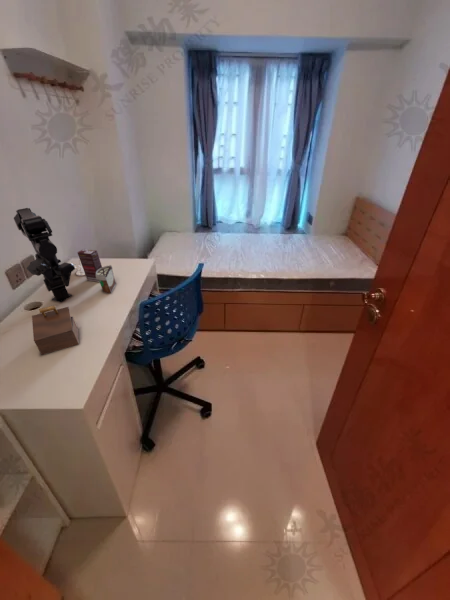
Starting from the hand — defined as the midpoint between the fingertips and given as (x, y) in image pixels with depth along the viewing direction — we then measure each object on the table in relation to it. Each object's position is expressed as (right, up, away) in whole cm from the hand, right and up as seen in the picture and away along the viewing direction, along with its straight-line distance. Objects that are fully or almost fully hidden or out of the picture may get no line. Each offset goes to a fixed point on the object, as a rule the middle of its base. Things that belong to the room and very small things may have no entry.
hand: (59, 284), depth 118 cm
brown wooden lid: (+6, -15, -15) cm, 22 cm away
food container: (+11, -1, +21) cm, 24 cm away
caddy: (+7, -22, -11) cm, 26 cm away
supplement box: (+2, +4, +31) cm, 31 cm away
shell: (-9, +9, +38) cm, 40 cm away
